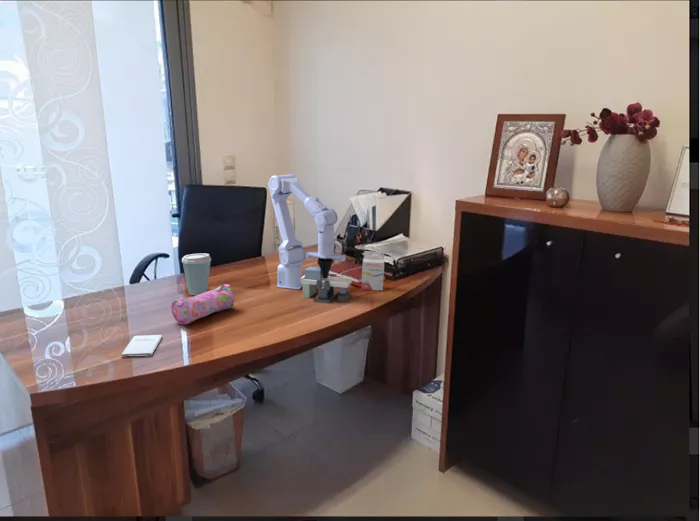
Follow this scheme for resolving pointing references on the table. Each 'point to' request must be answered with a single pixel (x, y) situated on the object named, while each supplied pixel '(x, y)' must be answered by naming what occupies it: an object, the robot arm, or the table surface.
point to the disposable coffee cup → (196, 272)
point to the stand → (326, 291)
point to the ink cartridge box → (373, 271)
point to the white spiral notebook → (142, 345)
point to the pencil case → (202, 304)
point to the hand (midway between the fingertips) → (325, 277)
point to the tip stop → (344, 296)
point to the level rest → (308, 290)
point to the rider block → (313, 273)
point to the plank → (331, 282)
